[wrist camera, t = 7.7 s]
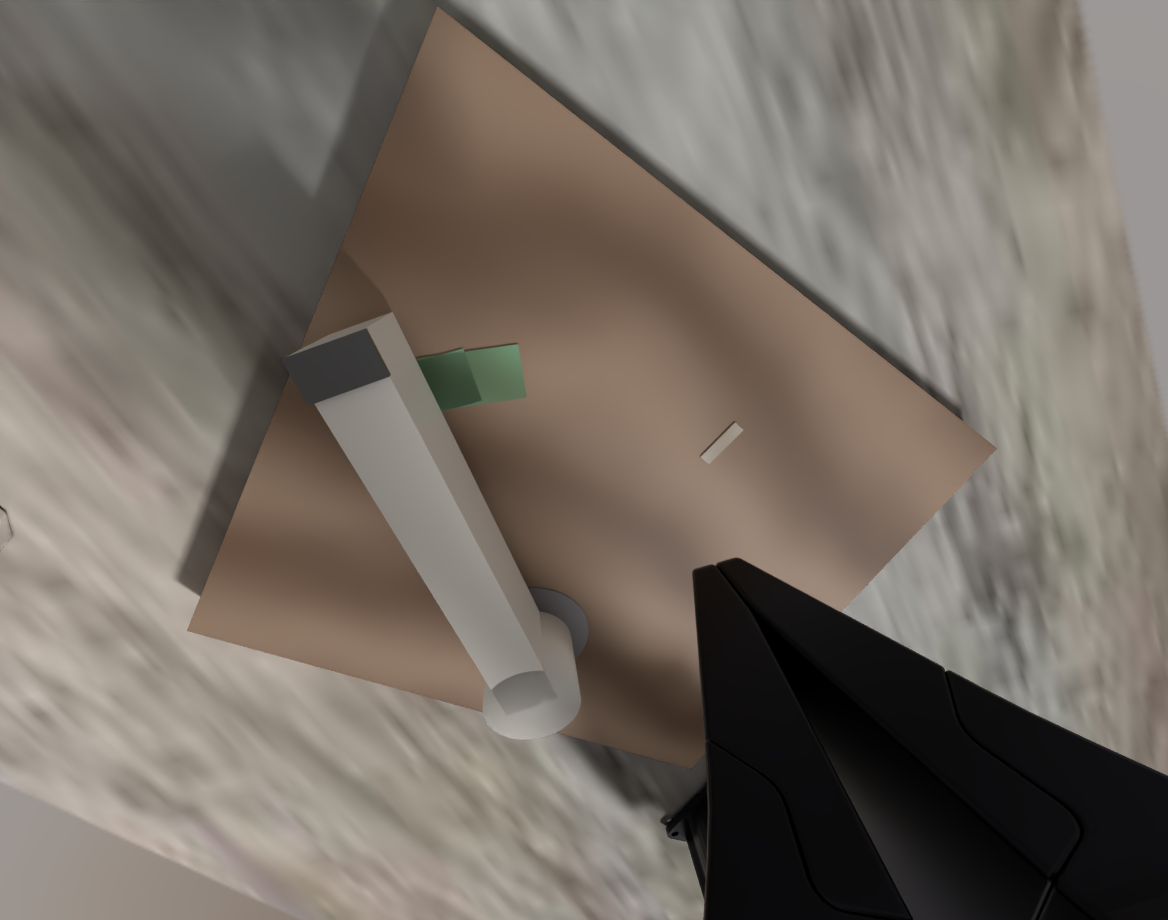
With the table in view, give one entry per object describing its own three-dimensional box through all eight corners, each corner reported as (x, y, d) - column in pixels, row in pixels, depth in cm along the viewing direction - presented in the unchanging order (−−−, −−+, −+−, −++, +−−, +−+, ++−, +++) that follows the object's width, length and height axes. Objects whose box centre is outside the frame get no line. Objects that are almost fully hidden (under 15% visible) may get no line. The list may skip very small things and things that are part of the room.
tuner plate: (682, 743, 28) (691, 771, 26) (209, 603, 19) (185, 632, 18) (966, 435, 21) (999, 449, 20) (444, 30, 13) (436, 4, 12)
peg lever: (582, 658, 21) (594, 724, 18) (505, 685, 21) (504, 755, 18) (418, 302, 14) (394, 318, 11) (302, 343, 14) (249, 370, 11)
